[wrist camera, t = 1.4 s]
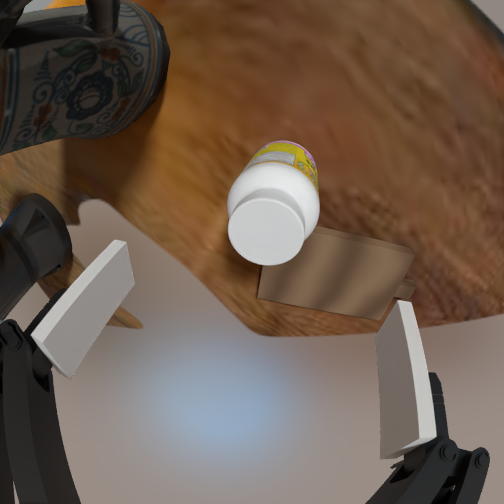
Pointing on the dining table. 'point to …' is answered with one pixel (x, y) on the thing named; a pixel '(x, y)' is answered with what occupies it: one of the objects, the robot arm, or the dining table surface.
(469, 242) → the dining table surface
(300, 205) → the supplement bottle
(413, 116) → the dining table surface
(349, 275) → the walnut board
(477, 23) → the dining table surface
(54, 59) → the beer stein
